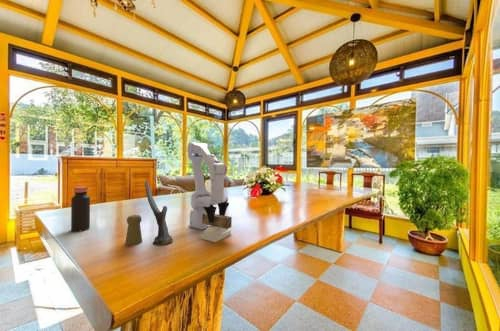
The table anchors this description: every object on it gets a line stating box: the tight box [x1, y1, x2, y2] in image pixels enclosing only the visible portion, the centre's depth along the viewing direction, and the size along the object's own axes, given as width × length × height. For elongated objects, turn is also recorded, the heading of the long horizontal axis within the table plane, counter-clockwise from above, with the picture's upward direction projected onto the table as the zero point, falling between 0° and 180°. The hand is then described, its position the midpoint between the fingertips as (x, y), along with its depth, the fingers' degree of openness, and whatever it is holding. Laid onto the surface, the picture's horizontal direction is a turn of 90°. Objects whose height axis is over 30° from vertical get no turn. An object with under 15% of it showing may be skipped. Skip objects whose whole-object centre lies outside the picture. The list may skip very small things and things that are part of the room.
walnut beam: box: [202, 213, 233, 230], centre depth 92 cm, size 14×3×4 cm, turn 61°
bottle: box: [70, 186, 91, 233], centre depth 96 cm, size 7×7×20 cm
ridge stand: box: [200, 226, 232, 243], centre depth 92 cm, size 8×11×5 cm
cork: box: [125, 214, 143, 246], centre depth 83 cm, size 6×6×11 cm
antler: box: [144, 180, 174, 246], centre depth 84 cm, size 12×8×25 cm
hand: (216, 220), depth 92 cm, fingers open, 7 cm apart
